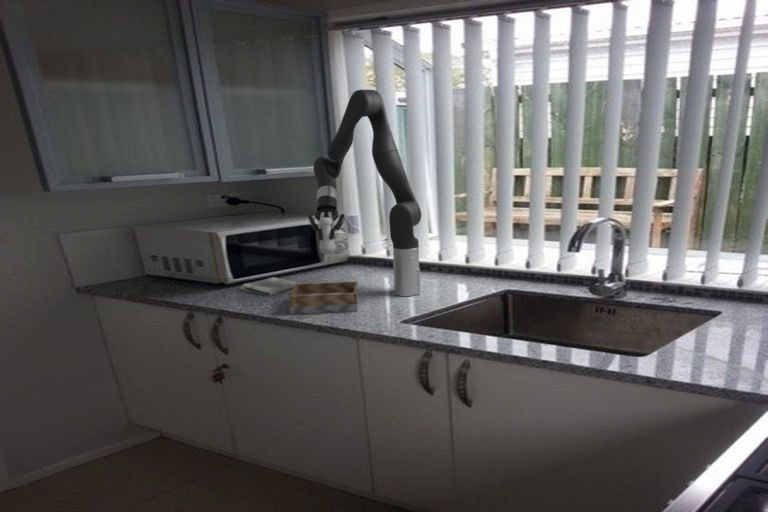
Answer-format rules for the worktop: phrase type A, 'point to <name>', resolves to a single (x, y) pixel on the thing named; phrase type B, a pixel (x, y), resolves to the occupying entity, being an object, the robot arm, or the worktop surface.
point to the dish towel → (269, 286)
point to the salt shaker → (326, 237)
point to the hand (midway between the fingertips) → (326, 238)
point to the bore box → (324, 297)
